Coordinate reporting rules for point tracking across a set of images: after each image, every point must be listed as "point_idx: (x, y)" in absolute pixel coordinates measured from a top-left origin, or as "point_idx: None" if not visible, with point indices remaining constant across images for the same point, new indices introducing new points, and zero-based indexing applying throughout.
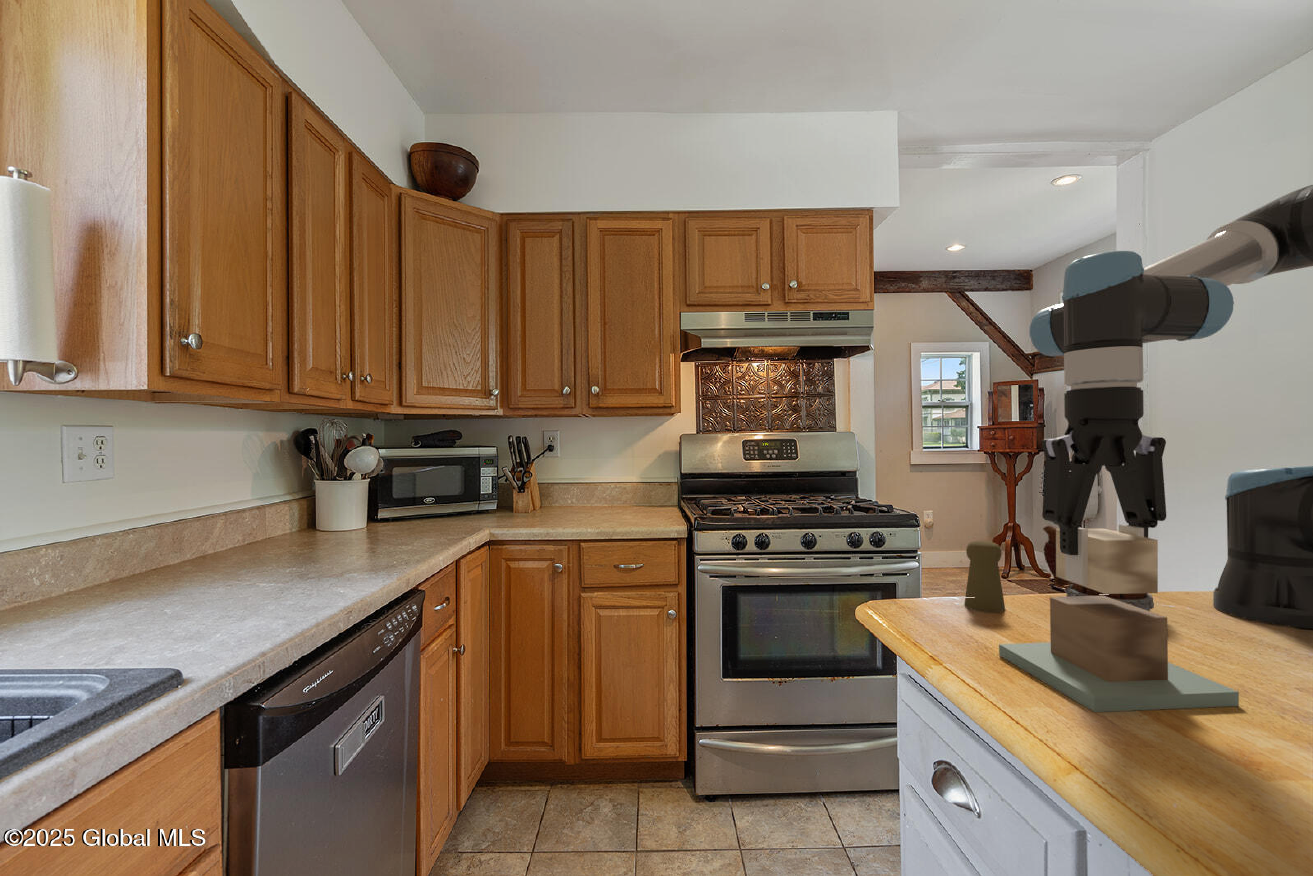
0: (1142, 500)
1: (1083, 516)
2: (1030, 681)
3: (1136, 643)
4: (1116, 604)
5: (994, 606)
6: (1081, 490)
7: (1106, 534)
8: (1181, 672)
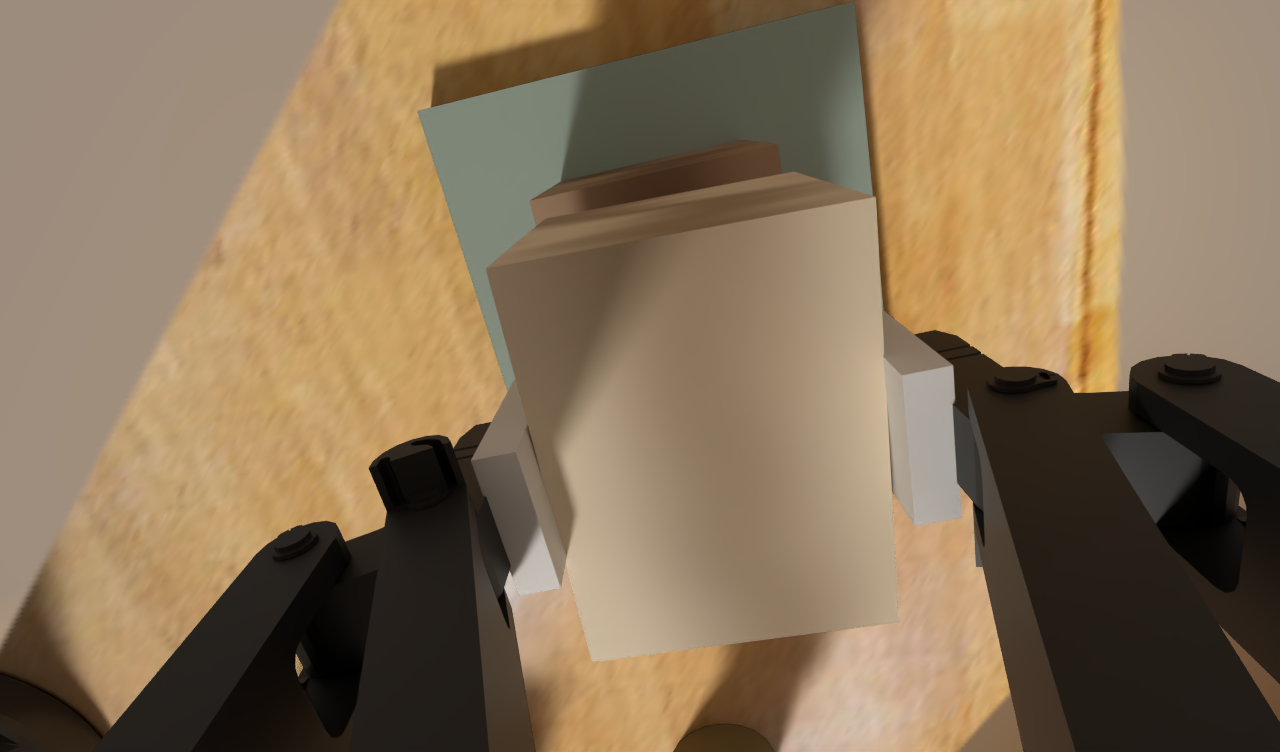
0: (400, 609)
1: (980, 418)
2: (896, 217)
3: (654, 166)
4: None
5: (717, 741)
6: (1174, 568)
7: (706, 448)
8: (492, 243)
